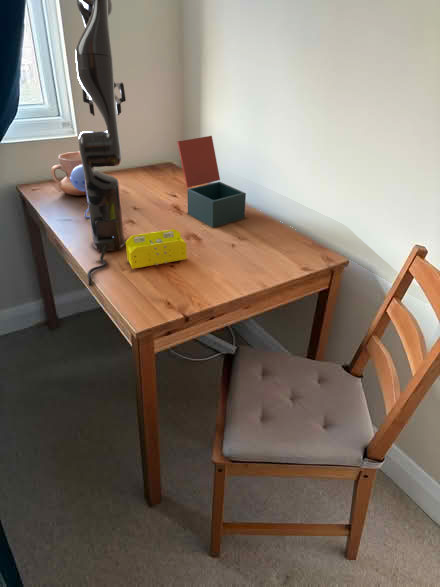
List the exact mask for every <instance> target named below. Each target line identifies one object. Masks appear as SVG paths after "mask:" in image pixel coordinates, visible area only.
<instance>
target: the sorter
mask: <svg viewBox="0 0 440 587" xmlns="http://www.w3.org/2000/svg"><path fill="white" fill-rule="evenodd" d="M186 190H187V215H189V216H191V217H193V218H195V219H196V220H198V221H200V222H202V223H203V224H205V225H207V226H209V227H211V228H216V227H219V226H222V225H226V224H230V223H232V222H236V221H239V220H243V219H245V215H246V201H247V200H246V197H247V193H246V192H244V191H242V190H239V189H237V188H235V187H232V186H231V185H228V184H226V183H225V182H222V181H215V182H210V183H206V184H202V185H198V186H194V187H189V188H187V189H186Z"/></svg>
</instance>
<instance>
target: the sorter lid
mask: <svg viewBox="0 0 440 587" xmlns="http://www.w3.org/2000/svg"><path fill="white" fill-rule="evenodd" d="M176 143H177V148H178V149H177V150H178V154H179V158H180V163H181V168H182V172H183V177H184V181H185V186H186V188H187V189H190V188H194V187H198V186H202V185H207V184H211V183H215V182H219V181H221V178H220V172H219V167H218V161H217V155H216V150H215V144H214V140H213V136H212V135H208V136H201V137H196V138H189V139H184V140H178V141H176Z"/></svg>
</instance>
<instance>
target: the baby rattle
mask: <svg viewBox="0 0 440 587" xmlns="http://www.w3.org/2000/svg"><path fill="white" fill-rule="evenodd" d="M70 180H71V183H72V184H73V186H74V187H75V188H76V189H78V190H80V191H85V192H86V185H85V178H84V171H83V166H82V165H79V166H77V167H75V168H74V169H73V171H72V173H71V176H70ZM85 196H86V198H87V192H86V195H85ZM86 201H87V202H86V203H88V200H87V199H86ZM87 213H89V207H87V209H86V210H85V211H84V217H85V218H87V219H90V215H87Z"/></svg>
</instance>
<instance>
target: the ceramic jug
mask: <svg viewBox="0 0 440 587" xmlns="http://www.w3.org/2000/svg"><path fill="white" fill-rule="evenodd" d="M58 161H59V163H60V164H55V165H53V166H52V167H51V169H50V174H51V177H52V179H53V181H54V182H55V183H56V184H57V186H58V188H59V189H60V190H61V191H62V192H63V193H64V194H67V195H71V196H86V192H85V191H80V190H78V189H76V188H75V187H74V186H73V184H72V183H71V180H70V176H71V173H72V171H73V169H74V168H75V167H77V166H79V165H82V161H81V156H80V151H79V150H78V151H70V152H63V153H60V154H59V155H58ZM56 170H60V171H62V172H64V173H65V174H66V176H65V177H64V178H62V179H61V180H60V181H59V178H58V177H57V176H56Z"/></svg>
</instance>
